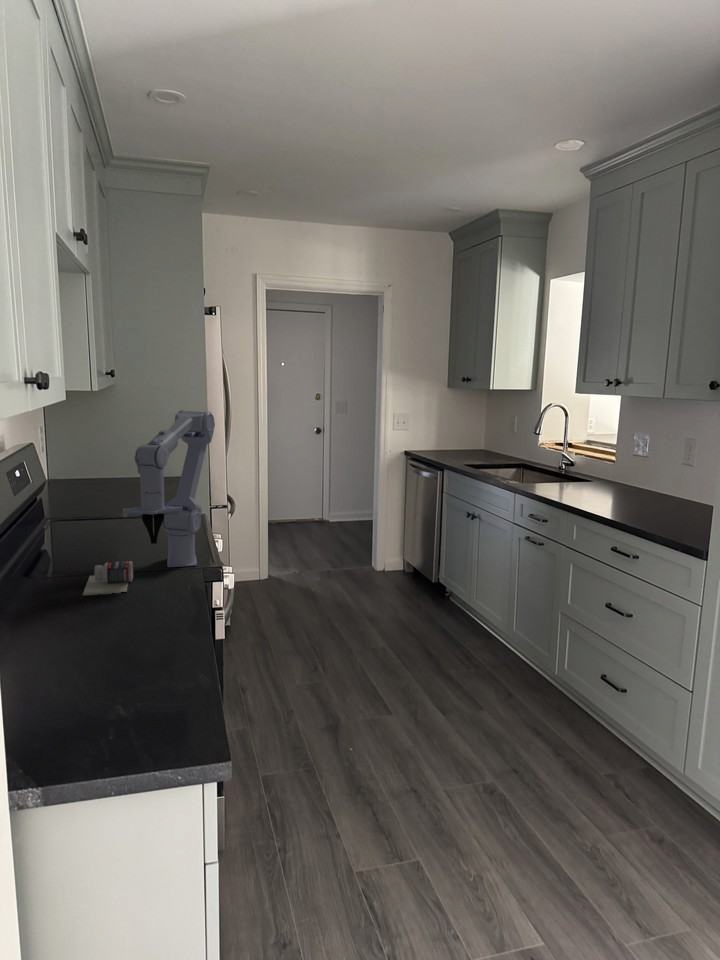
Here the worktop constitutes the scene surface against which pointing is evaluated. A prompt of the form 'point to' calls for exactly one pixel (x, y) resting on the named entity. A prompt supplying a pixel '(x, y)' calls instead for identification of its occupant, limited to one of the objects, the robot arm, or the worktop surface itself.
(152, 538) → the robot arm
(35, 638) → the worktop surface
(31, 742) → the worktop surface
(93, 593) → the mat
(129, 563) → the pill bottle
